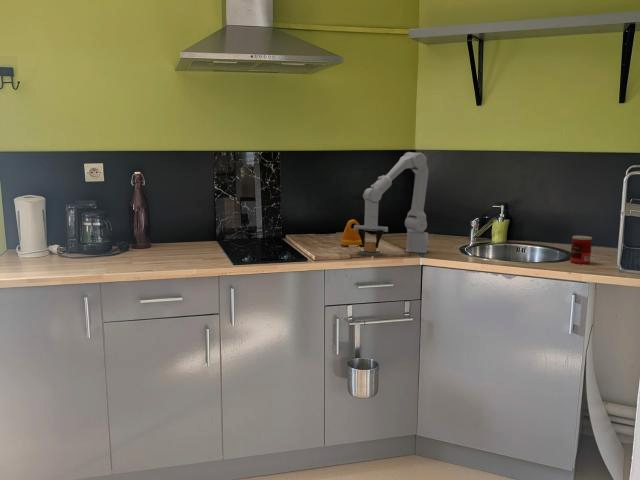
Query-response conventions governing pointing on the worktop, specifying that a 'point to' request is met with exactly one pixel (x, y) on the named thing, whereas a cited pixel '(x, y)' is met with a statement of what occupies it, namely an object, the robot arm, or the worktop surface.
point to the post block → (369, 252)
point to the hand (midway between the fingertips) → (370, 247)
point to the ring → (370, 247)
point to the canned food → (581, 249)
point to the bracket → (351, 235)
